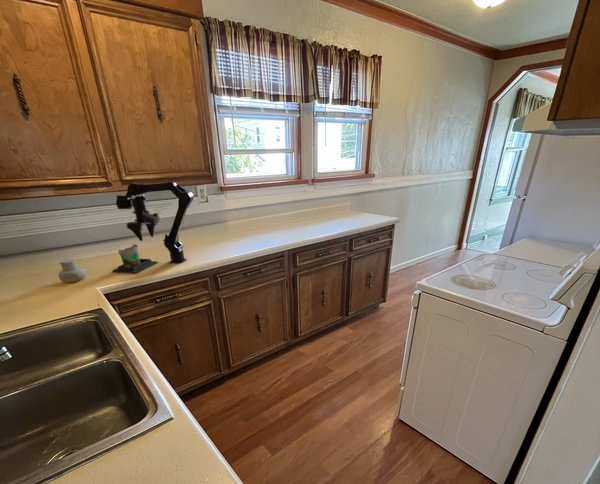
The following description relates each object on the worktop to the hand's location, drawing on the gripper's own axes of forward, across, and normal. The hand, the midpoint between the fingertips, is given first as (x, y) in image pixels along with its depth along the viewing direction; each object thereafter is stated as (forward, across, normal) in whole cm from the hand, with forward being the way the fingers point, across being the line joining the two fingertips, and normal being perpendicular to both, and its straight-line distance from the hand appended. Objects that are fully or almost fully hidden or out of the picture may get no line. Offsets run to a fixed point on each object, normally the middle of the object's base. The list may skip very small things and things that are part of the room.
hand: (146, 238), depth 177 cm
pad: (+13, -10, +3) cm, 17 cm away
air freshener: (+13, -34, +19) cm, 41 cm away
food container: (+12, -10, +3) cm, 16 cm away
